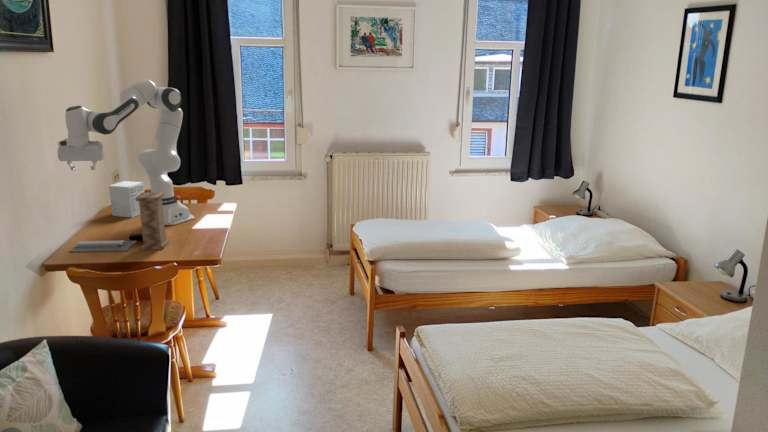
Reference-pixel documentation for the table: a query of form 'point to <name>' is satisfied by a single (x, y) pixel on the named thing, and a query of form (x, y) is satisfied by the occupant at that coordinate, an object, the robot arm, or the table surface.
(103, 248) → the rubber mat
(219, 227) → the table surface
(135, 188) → the supplement box
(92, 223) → the table surface
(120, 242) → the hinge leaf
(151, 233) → the walnut stand
